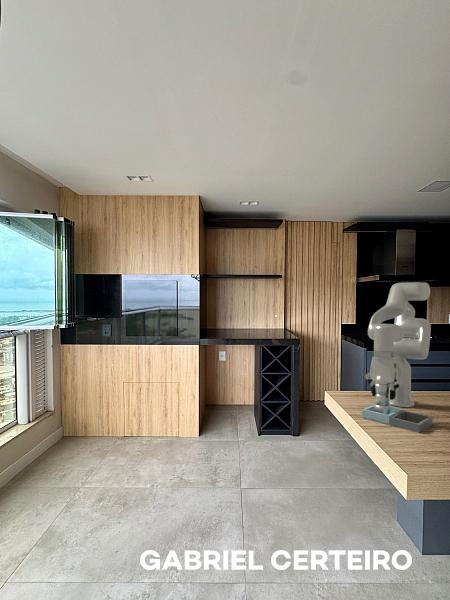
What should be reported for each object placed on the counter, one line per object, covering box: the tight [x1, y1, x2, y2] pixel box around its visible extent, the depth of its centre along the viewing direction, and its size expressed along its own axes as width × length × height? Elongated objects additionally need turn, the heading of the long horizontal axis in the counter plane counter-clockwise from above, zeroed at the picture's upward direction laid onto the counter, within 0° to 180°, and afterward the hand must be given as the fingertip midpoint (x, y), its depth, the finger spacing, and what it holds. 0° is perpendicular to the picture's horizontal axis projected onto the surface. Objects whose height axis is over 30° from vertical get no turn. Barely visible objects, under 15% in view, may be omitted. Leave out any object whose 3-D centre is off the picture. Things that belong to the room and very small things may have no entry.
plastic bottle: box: [373, 376, 391, 415], centre depth 147 cm, size 6×7×20 cm
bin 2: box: [388, 410, 433, 434], centre depth 139 cm, size 14×11×3 cm
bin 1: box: [361, 404, 405, 426], centre depth 147 cm, size 14×11×4 cm
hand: (383, 397), depth 147 cm, fingers open, 6 cm apart
